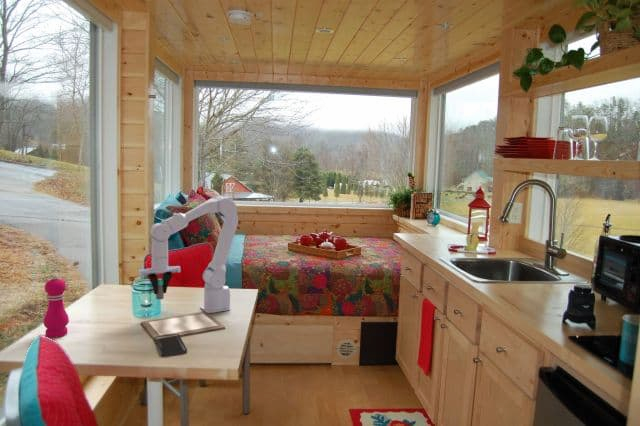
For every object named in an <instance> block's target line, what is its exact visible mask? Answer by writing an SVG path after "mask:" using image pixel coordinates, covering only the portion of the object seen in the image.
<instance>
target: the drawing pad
mask: <svg viewBox="0 0 640 426" xmlns="http://www.w3.org/2000/svg"><path fill="white" fill-rule="evenodd" d="M140 324H141V325H142V327H143V328H144V330H146V332H147V333H148V334H149V335H150V336H151V338H152V339H153V340H154V341H155V337H156V339H160V338H166V337H172V336H177V335H173V334H179V335H180V337H181V338H182V337H185V336H190V335H191V336H192V335H196V334H197V335H198V334H202V333H208V332H213V331H219V330H220V331H221V330H225V329H226V326H225V325H224V324H222V323H221V322H220V321H219V320H217V319H216V318H215V317H214V316H212V314H211V313H207V312H205V311H203V312H202V311H201V312H196V313H189V314H184V315H177V316H171V317H169V316H168V317H163V318H157V319H150V320H143V321H140ZM165 335H170V336H165ZM157 336H162V337H157Z"/></svg>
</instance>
